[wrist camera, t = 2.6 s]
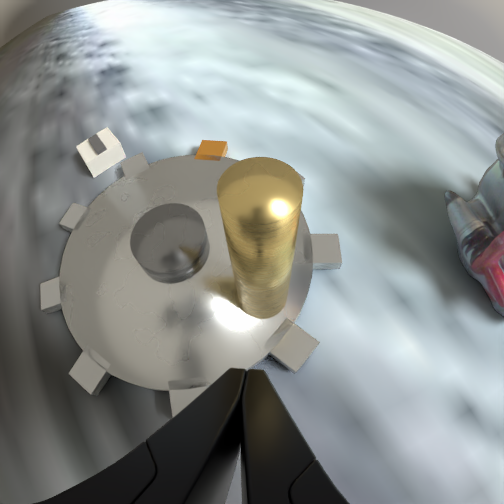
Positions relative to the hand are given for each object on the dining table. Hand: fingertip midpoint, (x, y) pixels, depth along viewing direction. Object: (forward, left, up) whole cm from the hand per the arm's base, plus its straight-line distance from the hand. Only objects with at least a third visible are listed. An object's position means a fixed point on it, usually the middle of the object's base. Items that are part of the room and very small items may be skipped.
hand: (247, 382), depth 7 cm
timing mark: (+12, +17, -8) cm, 22 cm away
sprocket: (+6, +7, -8) cm, 12 cm away
